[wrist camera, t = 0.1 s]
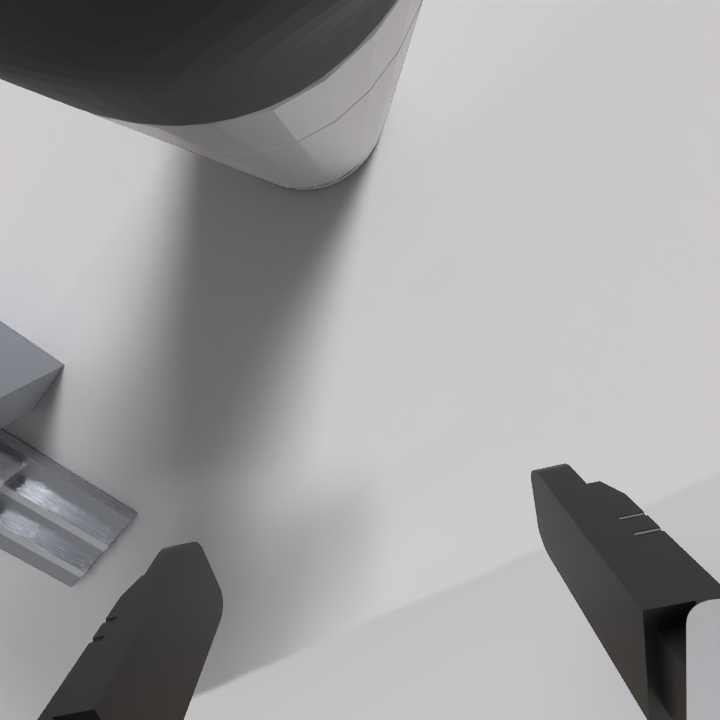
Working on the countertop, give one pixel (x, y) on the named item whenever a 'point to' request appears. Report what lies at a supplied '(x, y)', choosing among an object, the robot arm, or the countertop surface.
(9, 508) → the rail
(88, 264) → the countertop surface
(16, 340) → the module
